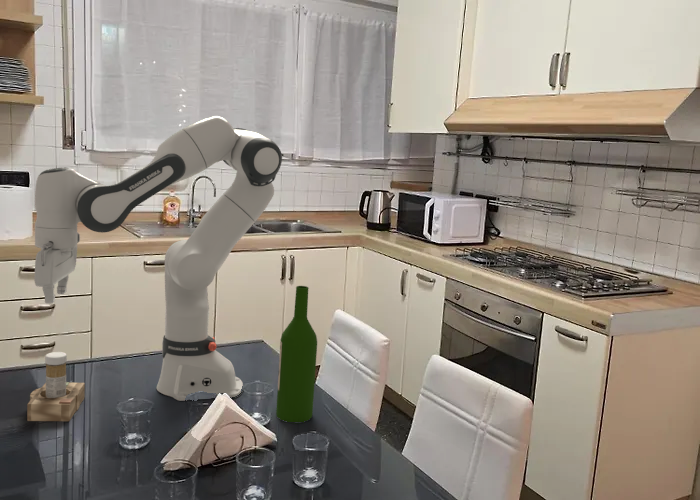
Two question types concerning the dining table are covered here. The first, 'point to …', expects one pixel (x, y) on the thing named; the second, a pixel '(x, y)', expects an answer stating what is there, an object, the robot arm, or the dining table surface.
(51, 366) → the sprinkles bottle
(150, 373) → the dining table surface
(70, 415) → the socket block
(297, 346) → the wine bottle
